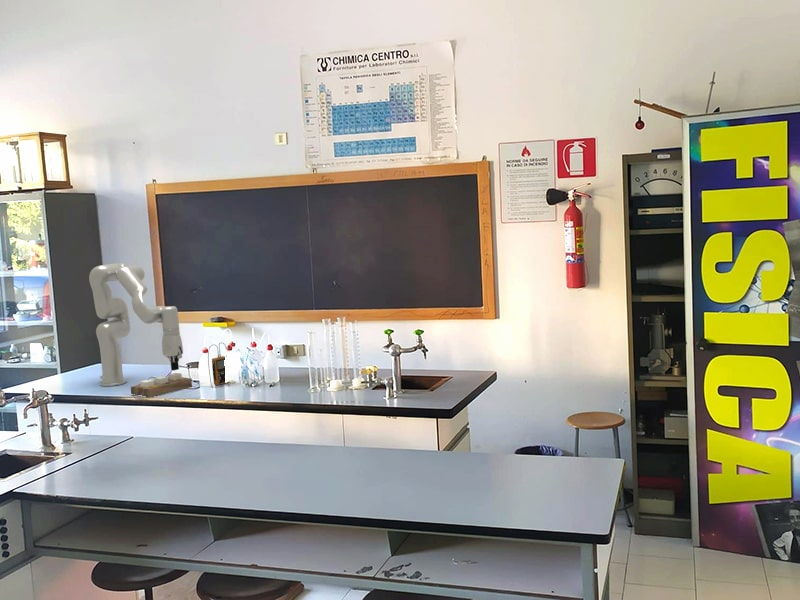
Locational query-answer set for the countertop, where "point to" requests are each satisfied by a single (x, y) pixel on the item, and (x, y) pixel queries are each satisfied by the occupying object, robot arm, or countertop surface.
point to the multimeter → (218, 369)
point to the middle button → (161, 380)
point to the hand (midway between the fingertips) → (175, 369)
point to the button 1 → (147, 383)
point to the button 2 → (175, 376)
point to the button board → (162, 387)
